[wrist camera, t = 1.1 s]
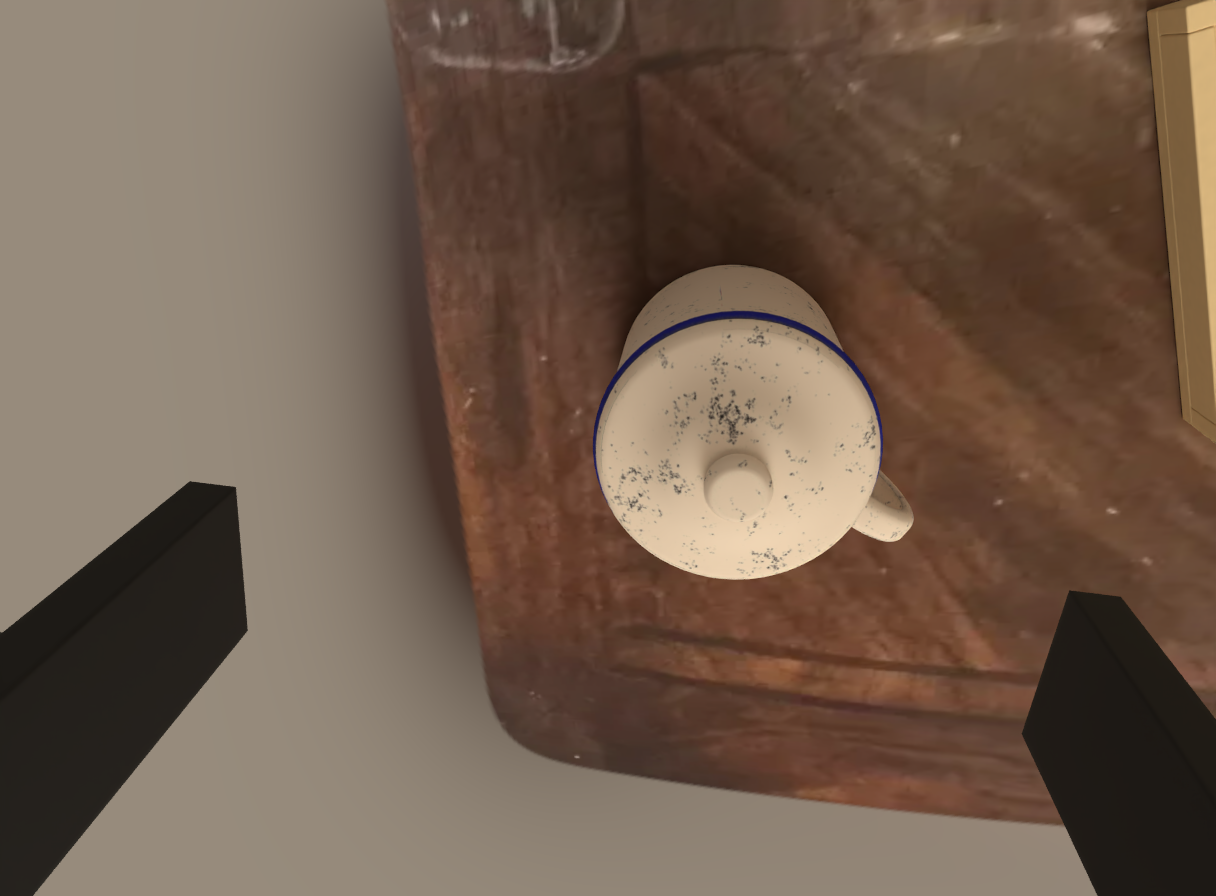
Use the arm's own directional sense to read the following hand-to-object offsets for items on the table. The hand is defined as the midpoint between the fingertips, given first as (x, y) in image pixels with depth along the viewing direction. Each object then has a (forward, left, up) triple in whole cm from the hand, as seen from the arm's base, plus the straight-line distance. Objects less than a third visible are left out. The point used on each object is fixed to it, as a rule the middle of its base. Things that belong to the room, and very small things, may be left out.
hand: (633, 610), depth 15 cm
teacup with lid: (+5, +2, -23) cm, 24 cm away
